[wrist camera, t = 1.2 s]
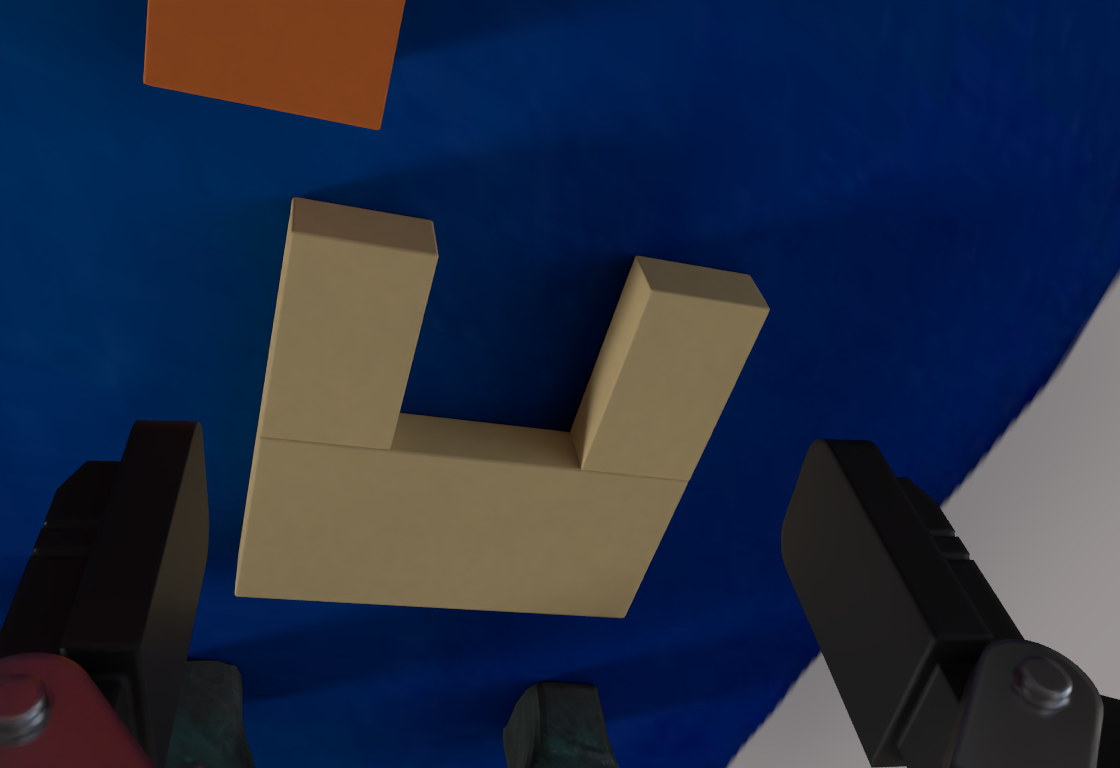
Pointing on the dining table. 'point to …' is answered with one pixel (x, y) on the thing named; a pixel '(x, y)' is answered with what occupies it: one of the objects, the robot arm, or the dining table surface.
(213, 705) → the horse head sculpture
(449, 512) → the notch pad
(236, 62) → the pad
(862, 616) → the robot arm
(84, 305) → the dining table surface
